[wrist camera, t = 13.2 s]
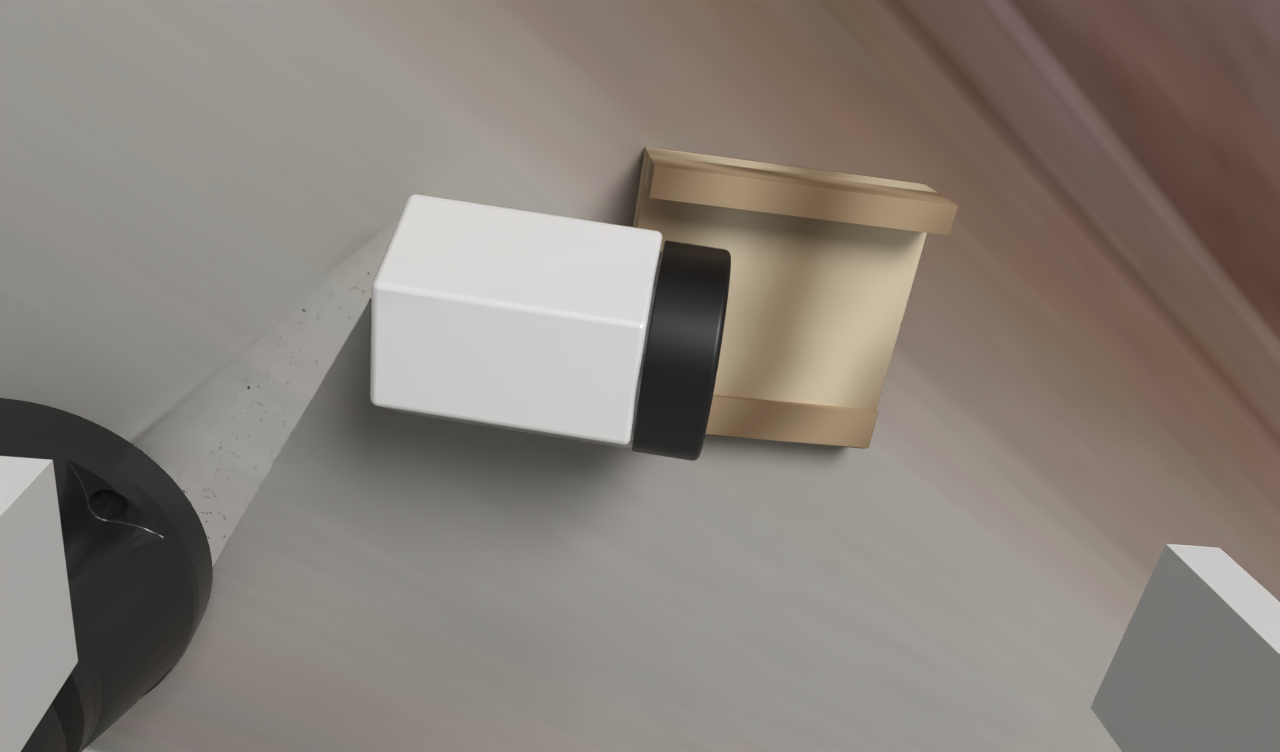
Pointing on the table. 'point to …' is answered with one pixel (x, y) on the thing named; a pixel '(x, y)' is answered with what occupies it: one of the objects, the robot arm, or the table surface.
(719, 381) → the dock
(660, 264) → the jar
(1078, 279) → the table surface
